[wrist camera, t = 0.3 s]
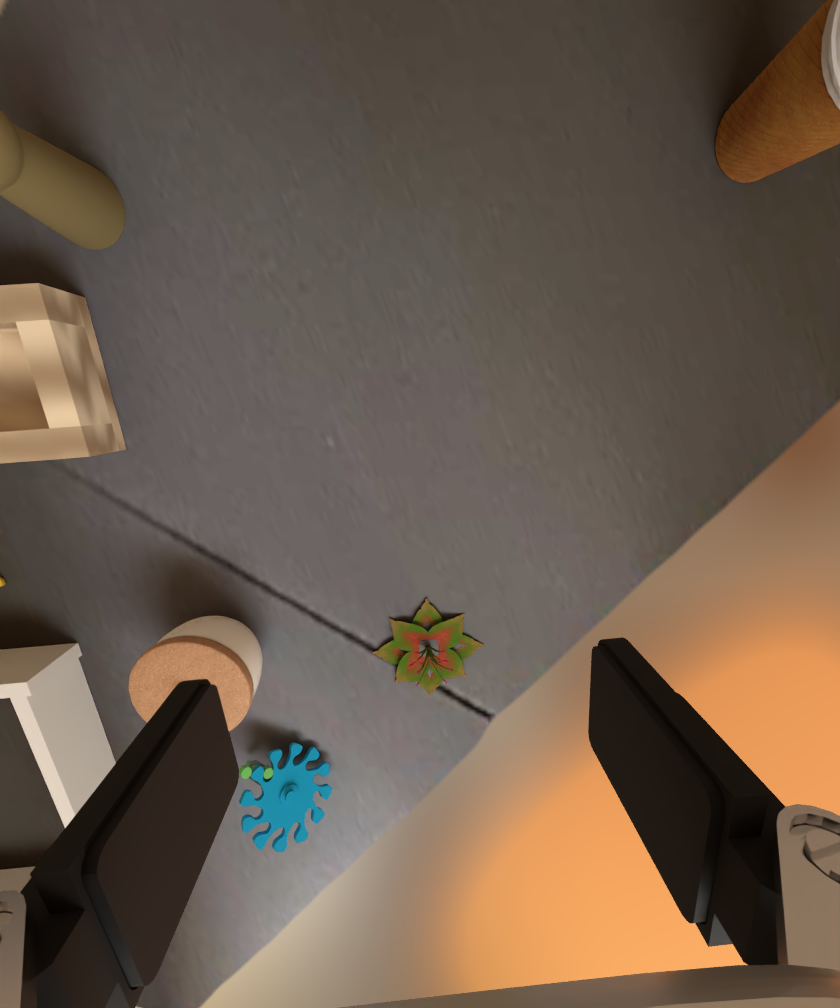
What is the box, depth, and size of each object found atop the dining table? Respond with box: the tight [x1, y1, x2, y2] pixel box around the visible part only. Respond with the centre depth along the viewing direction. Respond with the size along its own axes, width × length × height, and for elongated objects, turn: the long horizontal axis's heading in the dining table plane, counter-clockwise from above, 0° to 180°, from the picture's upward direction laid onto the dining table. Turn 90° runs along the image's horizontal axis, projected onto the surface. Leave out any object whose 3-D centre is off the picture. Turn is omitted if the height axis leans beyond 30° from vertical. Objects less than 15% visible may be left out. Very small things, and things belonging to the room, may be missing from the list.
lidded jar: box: [129, 616, 263, 731], centre depth 38 cm, size 11×11×9 cm
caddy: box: [0, 283, 126, 463], centre depth 33 cm, size 13×13×4 cm
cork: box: [0, 110, 125, 250], centre depth 27 cm, size 6×6×11 cm
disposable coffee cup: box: [715, 0, 840, 183], centre depth 27 cm, size 10×10×12 cm
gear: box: [239, 742, 332, 852], centre depth 45 cm, size 11×6×10 cm
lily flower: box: [373, 598, 484, 695], centre depth 42 cm, size 12×12×5 cm
